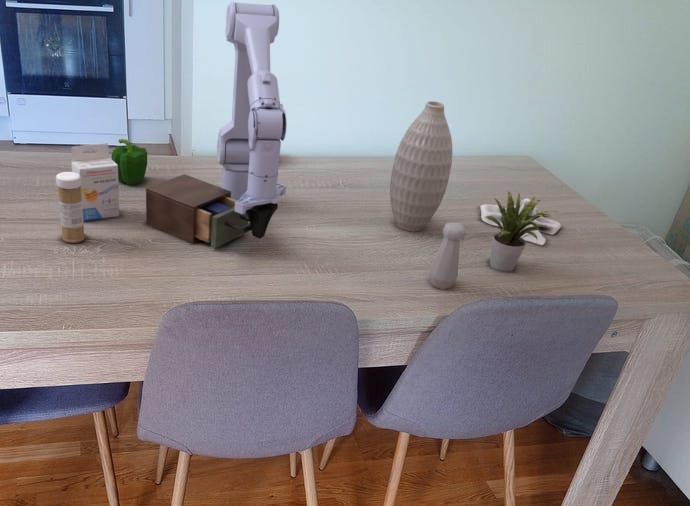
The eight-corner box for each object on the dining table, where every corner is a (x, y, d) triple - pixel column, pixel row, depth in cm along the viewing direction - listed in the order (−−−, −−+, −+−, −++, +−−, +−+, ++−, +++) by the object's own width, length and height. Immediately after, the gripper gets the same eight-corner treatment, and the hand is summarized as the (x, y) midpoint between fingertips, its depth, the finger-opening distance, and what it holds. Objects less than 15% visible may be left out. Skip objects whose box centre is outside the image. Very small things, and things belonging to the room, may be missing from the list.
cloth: (464, 209, 178) (470, 186, 175) (521, 203, 186) (528, 181, 182) (522, 248, 162) (530, 223, 159) (582, 240, 170) (591, 216, 166)
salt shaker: (423, 276, 146) (437, 217, 138) (450, 277, 146) (465, 219, 139) (430, 290, 141) (445, 230, 134) (458, 291, 142) (474, 232, 134)
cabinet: (229, 226, 156) (231, 191, 151) (192, 243, 147) (193, 207, 143) (183, 208, 162) (184, 174, 157) (146, 224, 153) (145, 188, 148)
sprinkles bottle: (82, 232, 146) (77, 170, 139) (87, 242, 143) (83, 178, 136) (59, 235, 145) (53, 171, 137) (64, 245, 141) (58, 180, 134)
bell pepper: (155, 181, 173) (155, 141, 167) (132, 190, 167) (131, 148, 161) (129, 172, 176) (128, 132, 171) (106, 180, 170) (104, 139, 165)
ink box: (82, 222, 151) (77, 154, 142) (74, 213, 154) (69, 146, 145) (120, 216, 155) (118, 150, 146) (111, 207, 158) (108, 142, 150)
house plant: (523, 291, 145) (548, 217, 135) (460, 269, 150) (480, 196, 141) (542, 267, 155) (566, 197, 146) (482, 247, 160) (502, 178, 151)
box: (218, 235, 148) (219, 212, 145) (202, 228, 150) (202, 206, 147) (230, 229, 151) (231, 207, 148) (214, 223, 153) (215, 201, 150)
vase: (442, 223, 169) (471, 103, 153) (428, 242, 160) (457, 116, 143) (392, 210, 173) (415, 91, 157) (375, 228, 163) (398, 103, 147)
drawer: (266, 239, 151) (269, 210, 147) (235, 256, 143) (236, 226, 139) (203, 214, 158) (204, 186, 154) (170, 229, 150) (170, 199, 146)
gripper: (257, 187, 130) (252, 254, 138) (301, 168, 140) (293, 231, 148) (227, 176, 133) (224, 242, 141) (272, 159, 143) (266, 221, 151)
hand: (257, 236), depth 144 cm, fingers closed, pressing on drawer
